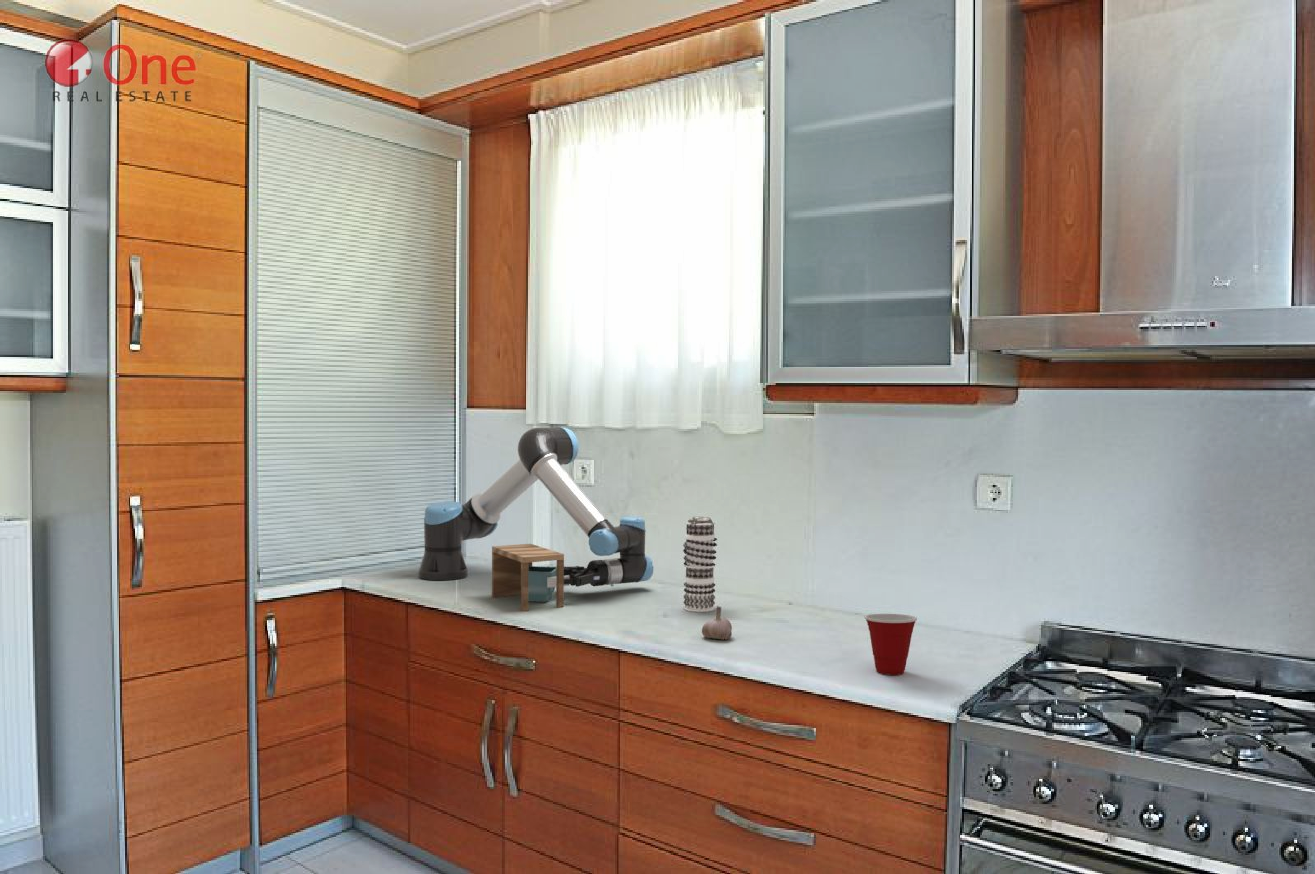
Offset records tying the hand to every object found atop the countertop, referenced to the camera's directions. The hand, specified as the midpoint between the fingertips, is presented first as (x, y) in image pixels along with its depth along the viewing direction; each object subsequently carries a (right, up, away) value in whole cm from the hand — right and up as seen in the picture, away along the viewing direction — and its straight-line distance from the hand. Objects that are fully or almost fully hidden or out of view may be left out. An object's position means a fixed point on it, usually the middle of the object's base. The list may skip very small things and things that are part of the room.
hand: (537, 578), depth 275 cm
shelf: (-3, -6, -1) cm, 7 cm away
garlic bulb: (+48, -9, -41) cm, 64 cm away
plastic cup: (+83, -10, -69) cm, 108 cm away
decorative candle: (+45, -7, -8) cm, 47 cm away
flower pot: (+1, -6, +1) cm, 7 cm away
